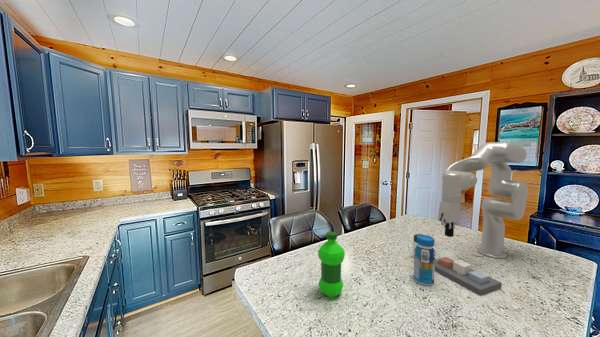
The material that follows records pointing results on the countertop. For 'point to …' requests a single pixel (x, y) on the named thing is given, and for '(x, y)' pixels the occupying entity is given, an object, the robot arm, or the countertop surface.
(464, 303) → the countertop surface
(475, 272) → the slate key
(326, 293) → the plastic bottle
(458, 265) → the ivory key
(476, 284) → the slotted grey plate
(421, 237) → the beverage bottle
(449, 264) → the brick key
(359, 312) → the countertop surface
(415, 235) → the jar
